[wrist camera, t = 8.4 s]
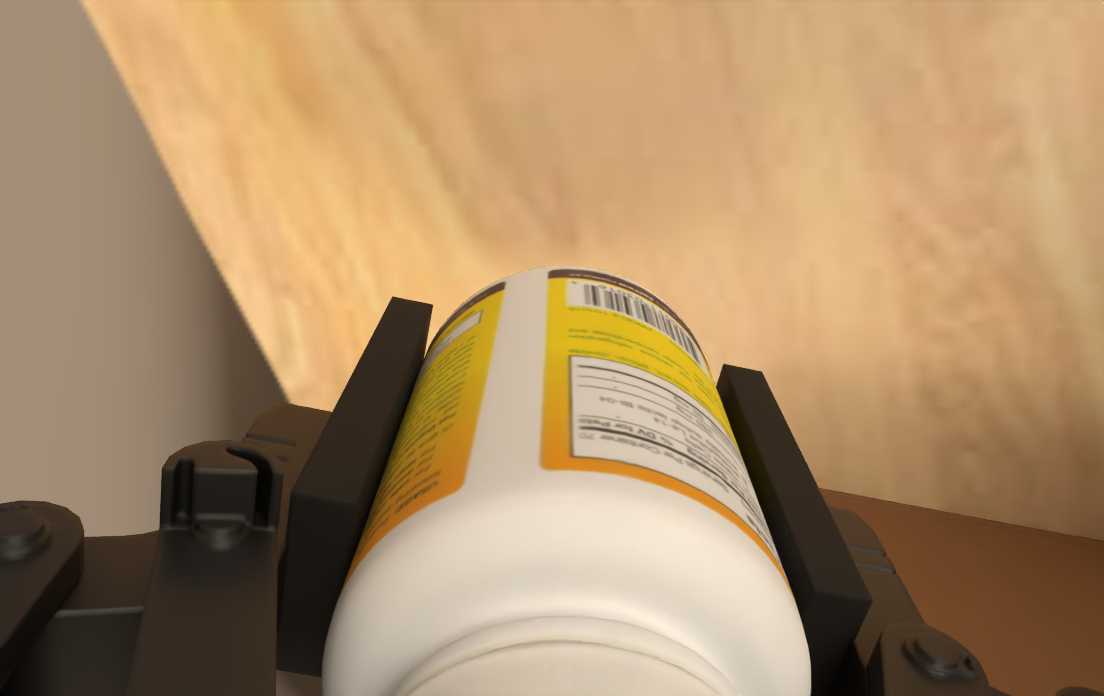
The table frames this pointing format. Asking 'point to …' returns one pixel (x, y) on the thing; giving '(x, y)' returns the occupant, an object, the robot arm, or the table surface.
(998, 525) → the carton
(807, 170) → the table surface
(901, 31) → the table surface
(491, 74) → the table surface
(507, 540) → the supplement bottle
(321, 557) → the robot arm
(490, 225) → the table surface
